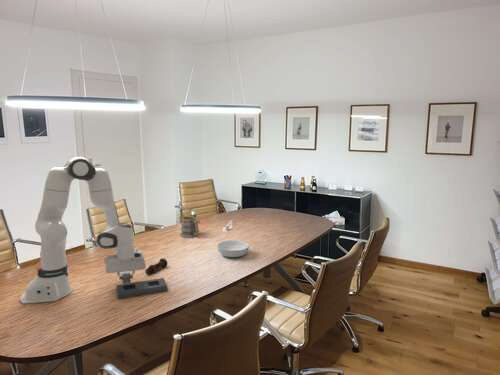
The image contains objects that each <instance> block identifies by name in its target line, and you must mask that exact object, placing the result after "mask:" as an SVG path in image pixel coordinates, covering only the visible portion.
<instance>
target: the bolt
mask: <svg viewBox="0 0 500 375" xmlns="http://www.w3.org/2000/svg"><path fill="white" fill-rule="evenodd" d="M167 266H168V261H167V259H165V258H164V257H163V258H160V259H159V261H158V262H157V263H155V264H150V265H148V268H145V269H144V270H145V274H147V275H150V274H155V273H156V271H157V270H159V269H160V268H166V267H167Z"/></svg>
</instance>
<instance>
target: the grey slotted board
mask: <svg viewBox="0 0 500 375" xmlns="http://www.w3.org/2000/svg"><path fill="white" fill-rule="evenodd" d="M115 288H116V289H115V290H116V297H117V300H120V299H126V298H132V297H139V296H144V295H151V294H156V293H161V292H168V283H167V282H166V280H165V278H164V277H162V278H155V279H149V280H143V281H142V280H141V281H136V282H131V283H124V284H123V283H122V284H121V283H120V284H116V285H115Z"/></svg>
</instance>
